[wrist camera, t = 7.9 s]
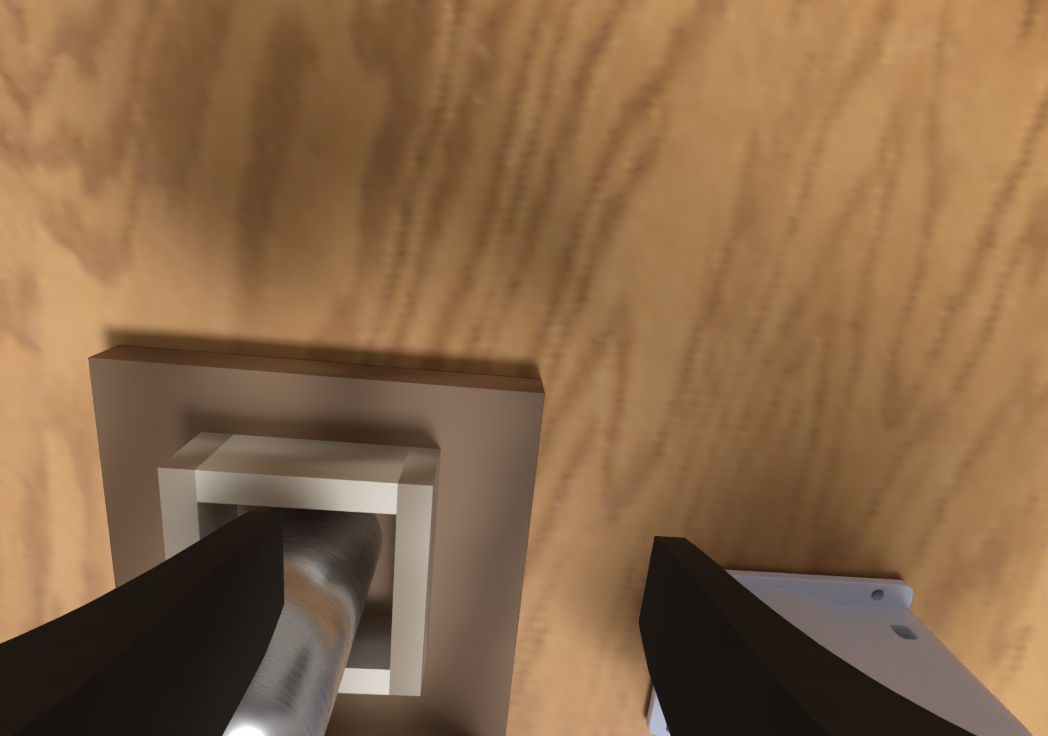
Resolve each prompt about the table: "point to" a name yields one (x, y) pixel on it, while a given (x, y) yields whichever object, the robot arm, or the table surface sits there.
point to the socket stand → (344, 505)
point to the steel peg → (311, 622)
